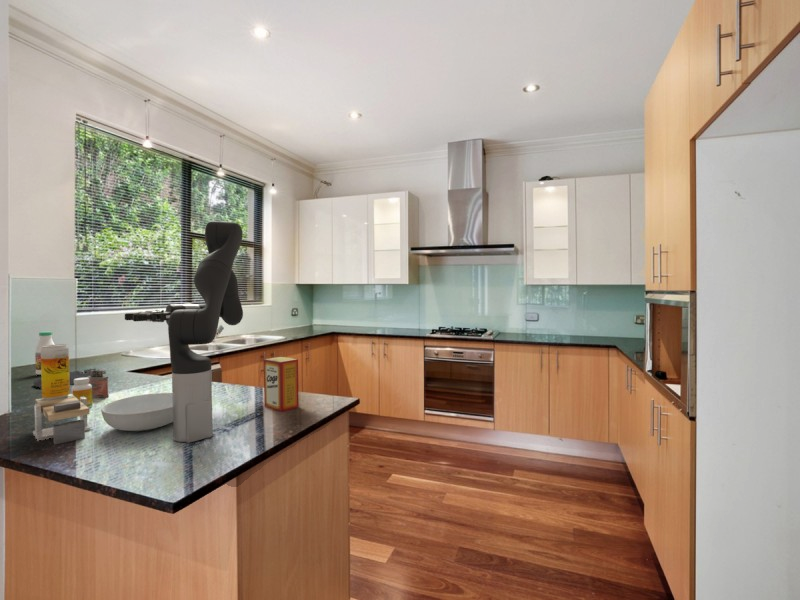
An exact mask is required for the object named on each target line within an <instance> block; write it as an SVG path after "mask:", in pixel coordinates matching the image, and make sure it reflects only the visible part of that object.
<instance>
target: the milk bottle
mask: <svg viewBox="0 0 800 600" xmlns="http://www.w3.org/2000/svg"><path fill="white" fill-rule="evenodd" d="M38 335H39V340H38V343H37V344H36V347H35V353H34V356H35V357H34V359H35V375H36V374H41V349H42V347H43V346H46V345H56V343H55V342H54V340H53V331H40V332H39V334H38Z"/></svg>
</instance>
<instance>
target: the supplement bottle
mask: <svg viewBox="0 0 800 600" xmlns="http://www.w3.org/2000/svg"><path fill="white" fill-rule="evenodd" d="M88 382H89V378H77V379H74V384H75V385H72V387H70V390H71V391H70V394H72V395H74V396H75V397H76V398H77V399H78V400H80V397H86V398H87V407H88V408H89V409H90V408H92V407H93V398H92V385H91V384H88Z"/></svg>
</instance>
